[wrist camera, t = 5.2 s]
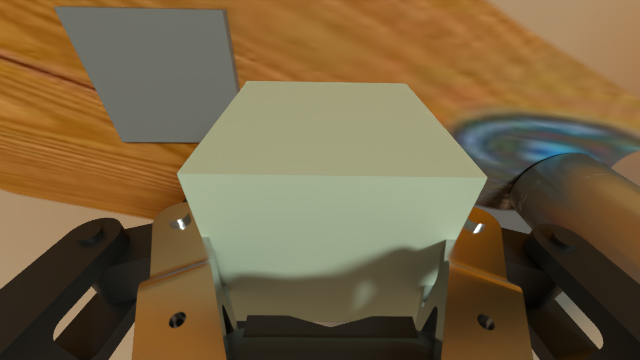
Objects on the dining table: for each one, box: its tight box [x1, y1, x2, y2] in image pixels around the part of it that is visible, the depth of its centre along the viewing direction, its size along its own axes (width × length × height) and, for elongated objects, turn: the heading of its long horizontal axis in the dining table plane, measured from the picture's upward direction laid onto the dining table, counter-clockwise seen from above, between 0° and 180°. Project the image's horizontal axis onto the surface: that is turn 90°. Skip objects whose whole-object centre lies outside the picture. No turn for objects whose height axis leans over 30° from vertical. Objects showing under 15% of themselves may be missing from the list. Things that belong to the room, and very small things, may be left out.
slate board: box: [54, 6, 240, 142], centre depth 22 cm, size 12×11×1 cm
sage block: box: [177, 81, 487, 322], centre depth 9 cm, size 6×6×6 cm
